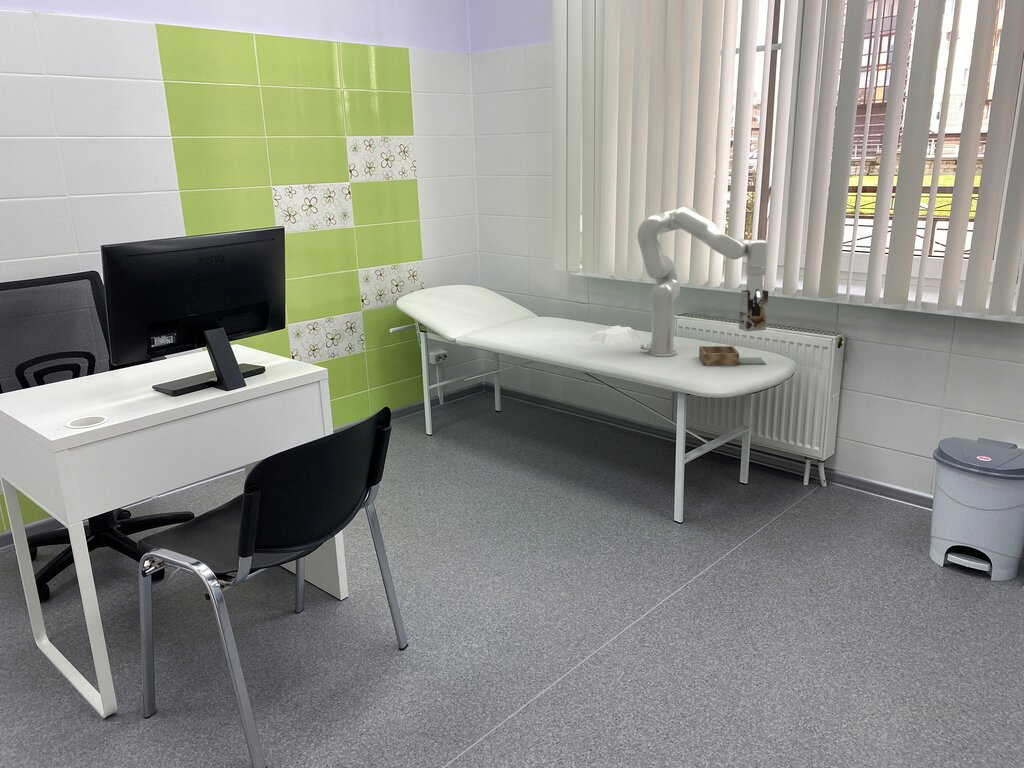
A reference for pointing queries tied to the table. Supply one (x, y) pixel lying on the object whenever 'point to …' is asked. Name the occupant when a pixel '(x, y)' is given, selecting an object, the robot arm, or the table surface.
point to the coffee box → (746, 318)
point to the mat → (751, 361)
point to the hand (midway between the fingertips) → (753, 313)
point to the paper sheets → (614, 335)
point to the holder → (718, 356)
